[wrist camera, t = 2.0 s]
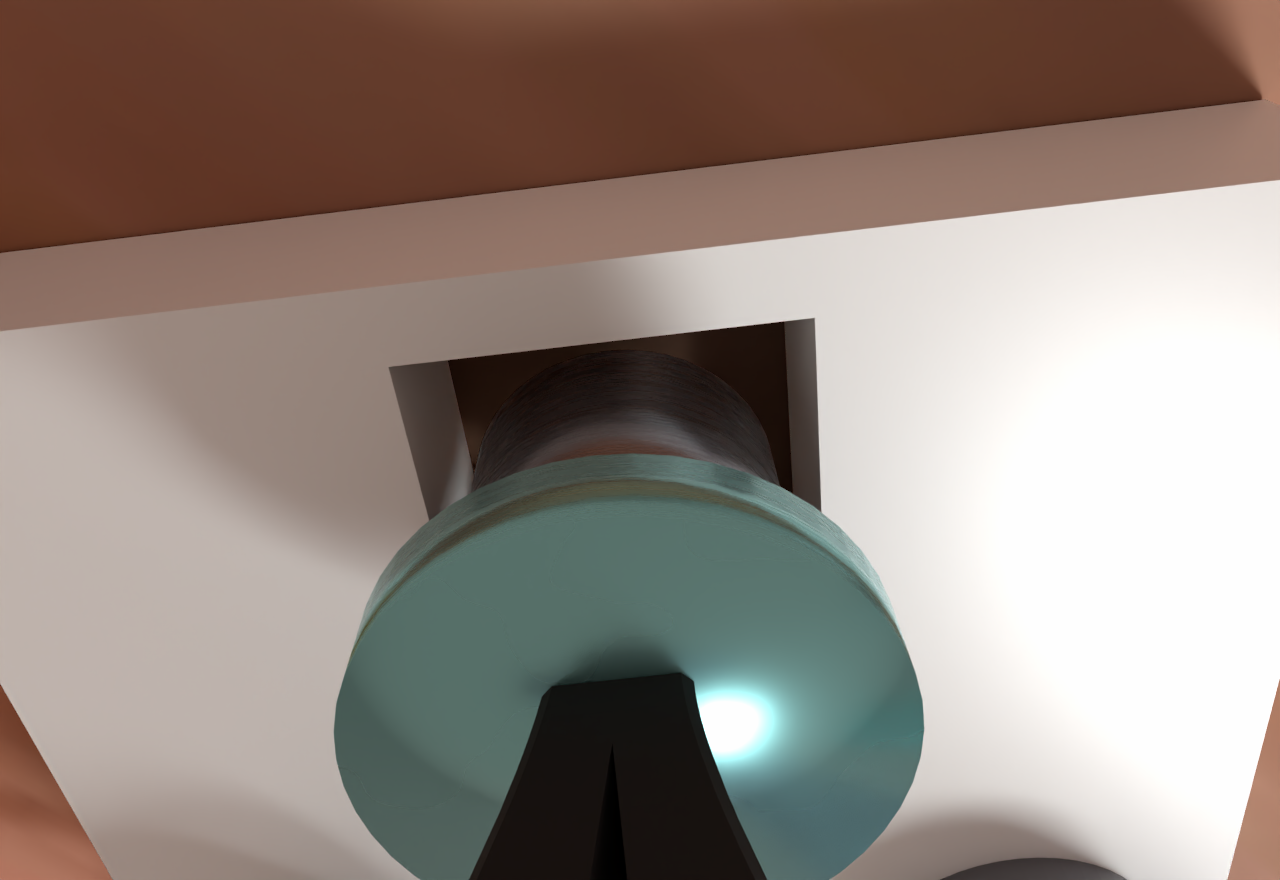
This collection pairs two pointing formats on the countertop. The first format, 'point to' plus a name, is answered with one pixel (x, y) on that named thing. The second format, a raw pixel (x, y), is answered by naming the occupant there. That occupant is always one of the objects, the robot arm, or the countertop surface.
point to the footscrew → (630, 623)
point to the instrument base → (820, 459)
